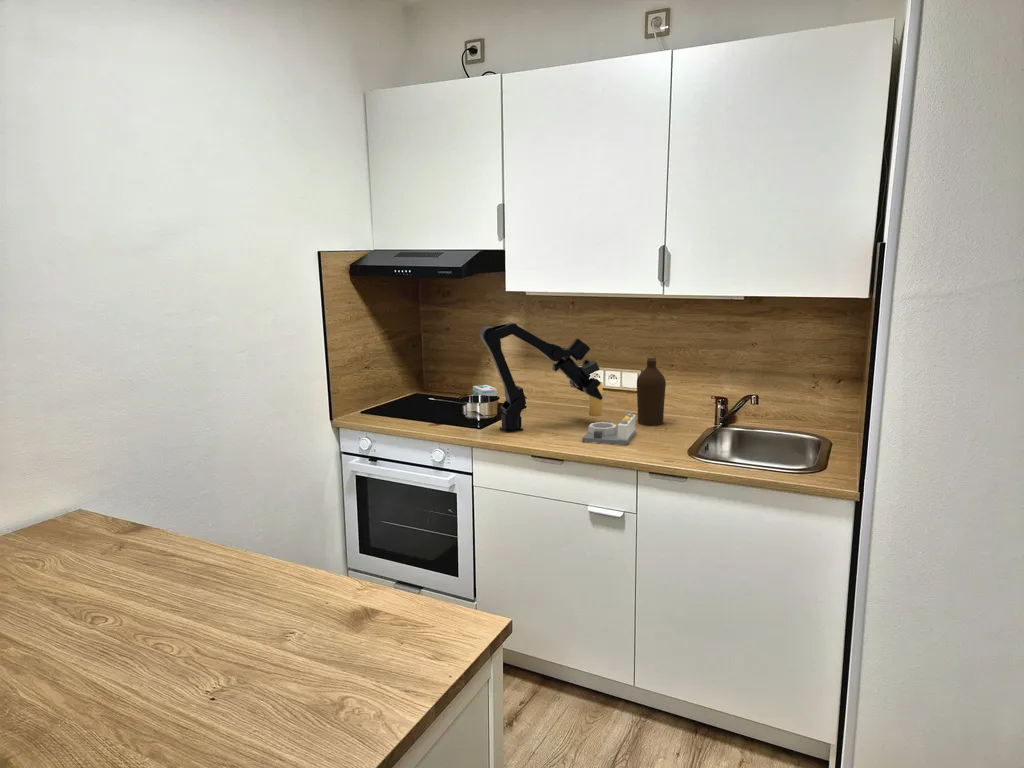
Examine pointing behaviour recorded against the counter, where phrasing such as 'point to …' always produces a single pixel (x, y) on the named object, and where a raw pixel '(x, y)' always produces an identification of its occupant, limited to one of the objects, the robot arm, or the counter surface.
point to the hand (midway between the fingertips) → (599, 397)
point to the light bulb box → (484, 390)
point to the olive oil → (651, 394)
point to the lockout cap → (596, 403)
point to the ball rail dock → (612, 431)
